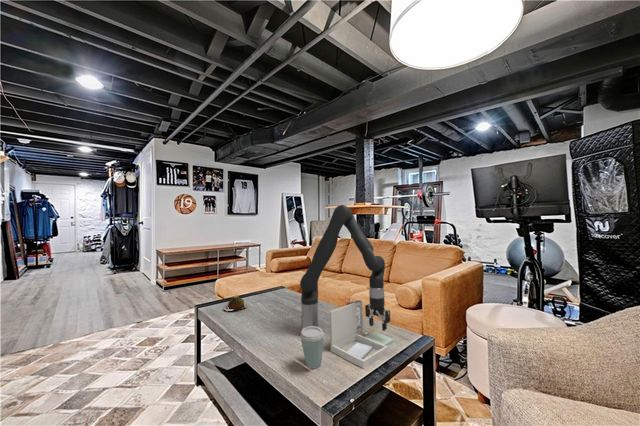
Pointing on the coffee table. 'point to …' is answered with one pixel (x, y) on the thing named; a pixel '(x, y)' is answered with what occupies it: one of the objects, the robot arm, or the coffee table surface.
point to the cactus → (236, 303)
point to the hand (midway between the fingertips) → (377, 327)
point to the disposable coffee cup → (312, 345)
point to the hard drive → (360, 350)
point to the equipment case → (351, 336)
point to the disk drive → (358, 312)
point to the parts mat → (380, 338)
